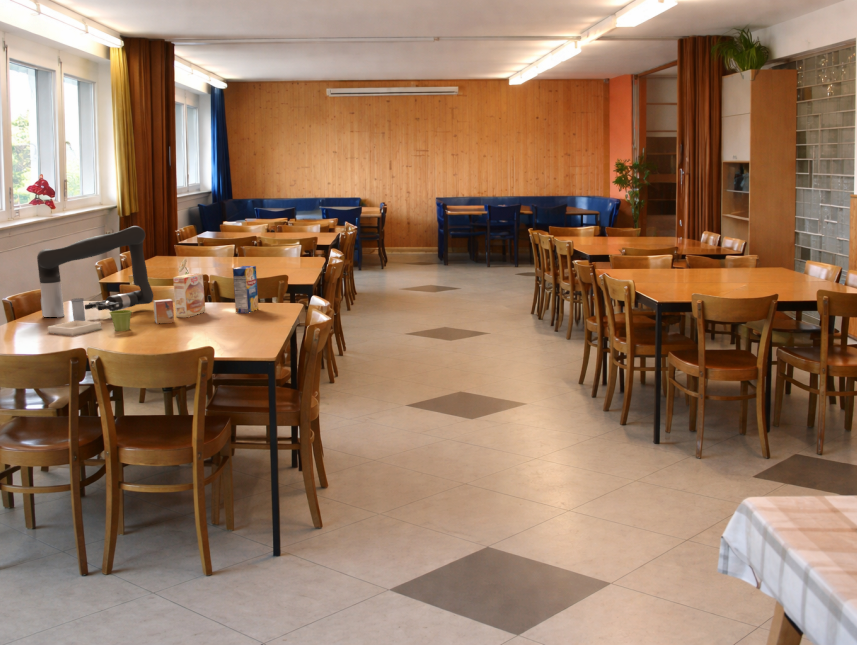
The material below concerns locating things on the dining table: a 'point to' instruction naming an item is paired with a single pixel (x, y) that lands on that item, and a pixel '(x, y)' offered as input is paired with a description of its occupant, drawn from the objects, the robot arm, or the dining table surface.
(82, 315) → the canister
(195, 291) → the coffeecake box
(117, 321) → the plant pot
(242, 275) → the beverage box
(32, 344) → the dining table surface
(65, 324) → the dish
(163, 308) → the small box
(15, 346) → the dining table surface
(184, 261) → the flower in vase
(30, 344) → the dining table surface
